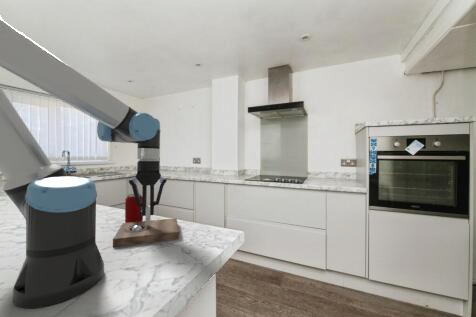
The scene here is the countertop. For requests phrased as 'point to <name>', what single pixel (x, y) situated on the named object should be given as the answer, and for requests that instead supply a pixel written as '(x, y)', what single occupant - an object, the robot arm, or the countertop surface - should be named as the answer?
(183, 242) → the countertop surface
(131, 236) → the block
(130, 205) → the beverage can
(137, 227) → the ball
